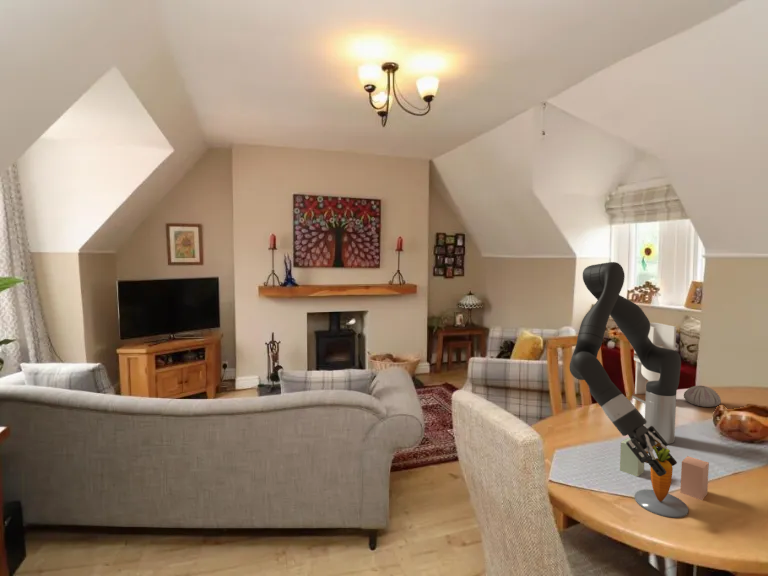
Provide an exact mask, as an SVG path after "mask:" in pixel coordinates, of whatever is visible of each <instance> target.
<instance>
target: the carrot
mask: <svg viewBox="0 0 768 576" xmlns="http://www.w3.org/2000/svg"><path fill="white" fill-rule="evenodd" d="M664 450H665V449H664V448H662V450H660V451H659V453H658V451H657V449H656V447H655V446H654V447H653V451H654V452H655V455H656V456H657V457H655V459H657V461H658V462H659V463H660V464H661V466H662V467H663V468H664V469H665V470H666V474H664V475H662V476H658V475H657V474H656V472H655V471H654V470H653V469H652V467H651V466H650V480H651V486H652V490H654V493H655V495H656V497H657V499H658V500H659V501H660V502H661V501H663V500H664V498H665V497H666V496H667V494H669V491H670V489H671V484H672V481H673V471H674V470H673V469H674V468H673V467H674V466H672V465H671V464H670V462H669V461H667V459H669V458H670V456H667V455H668V454H669V453H671V450H670V449H669V448H667V449H666V450H665V451H664ZM666 456H667V457H666Z"/></svg>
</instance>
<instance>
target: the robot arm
mask: <svg viewBox="0 0 768 576" xmlns="http://www.w3.org/2000/svg"><path fill="white" fill-rule="evenodd" d="M625 275H626V274H625V270H624V268H623V267H622V265H621V264H620V262H619V263H618V262H616V261H610V262H603V263H598V264H591V265H588V266H587V267H585V268H584V270H583V271H582V281H583V283H584V285H585V287H586V289H587V291H589V292H590V293H591V295H592V296H594V298H595V299H596V300H597V301H596V302H595V303H594V304H593V306H592V307H591V308H590V309H589V310H588V312H586V314H585V315H584V316H583V318H582V320H581V323H580V326H579V329H578V330H579V331H578V334H577V340H576V344H575V347H574V350H573V352H572V355H571V359H570V362H569V371H570V374H571V375H572V376H573V378H575V379H577V380H580V381H585V383H586V385H587V386H588V388H589V392H590V394H591V396H592V397H593V399H594V400H595V401H596V403H597V404H598V405H599V407H601V409H602V411H603V412H604V413H605V415H606V416H607V418H608V419H609V420H610V421H611V422H612V424H613V425H614V426H615V428H616V429H617V431H619V434H621V436H623V437H626V436H628V438H630V439H631V440H629V441H627V442H626V444H627V445H628V447H629V448H630V449H631V450H632V452H633V453H634V454H635V455H636V457H637V458H638V459H639V460H640V462H641V463H644V464H645V463H646V464H648V465H649V467H650V468H651V467H652V469H653V470H654V471H655V472H656V474H657V475H658V476H662V475H664V474H666V470H665V469H664V468H663V467H662V466H661V464H660V463H659V462H658V461H657V459H656V457H655V455H654V453H653V452H654V449H653V447H654V446H655V447H656V449H657V451H658V453H659V451H660V450H662V448H664V449H665V450H666V449H668V448H667V446H669V445H670V444H673V443H675V433H676V414H677V413H676V411H677V393H678V392H677V391H678V387H679V384H680V378H681V377H680V376H681V368H682V358H681V355H680V353H679V352H678V351H677V350H676V349H675V350H671V349H666V348H661V347H657V346H655V345H654V344H653V343H652V342H651V340H650V339H649V337H648V335H649V332H650V323H651V322H650V320H649V318H648V316H647V315H646V313H645V312H644V310H642V308H641V306H639V305H638V304H636V303H635V302H634V301H632V300H629V299H628V298H627V297H624V296H622V295H620V294H621V291H622V289H623V286H624V283H625V278H626V277H625ZM610 317H611V318H612V319H613V321H614V323H615V324H616V326H617V327H618V329H619V330H620V332H621V333H622V335H624V337H625V338H626V339H627V341H628V342H629V344H630V345H631V348H632V349H633V351H634V350H635V352H636V354H637V356H638V358H639V360H640V361H641V363H642V365H643V366H644V367H645V368H646V369H647V370H649V371H652V372H656V373H660V378H659V380H658V381H649V382H647V384H646V401H645V404H644V405H645V406H644V415H642V413H641V412H640V411H639V410H638V409H637V408H636V406H635V405H634V404H633V403H632V402H631V400H630V399H628V397H627V396H625V395H624V394H623V392H622V391H621V390H620V389H619V388H618V387H617V386H616V384H615V383H614V382H613V381H612V380H611V378H610V376H609V374H608V372H607V370H606V369H605V368H604V365H603V364H602V363H601V361H600V360H599V359H598V358H597V357H598V353H599V352H600V349H601V348H602V344H603V340H604V338H605V337H604V336H605V332H606V328H607V326H608V325H607V323H608V321H609V319H610ZM665 450H664V451H665ZM640 454H641V455H642V457H641V456H640ZM667 456H670V458H669V459H667V461H669V462H670V464H671V465H672V467H674V466H675V465H677V464H678V461H677V460H676V459H675V458H674V457H673V456H672V454H671V452H669V454H668V455H667ZM667 456H666V457H667Z"/></svg>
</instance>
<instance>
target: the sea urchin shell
mask: <svg viewBox="0 0 768 576" xmlns="http://www.w3.org/2000/svg"><path fill="white" fill-rule="evenodd" d="M683 398H684V400H685V401H686V402H688V403H689V404H691V405H695V406H698V407H702V408H703V407H704V408H706V407H707V408H711V407H713V408H714V407H717V406H719V405H720V404H721V402H722V399H721V397H720V395H719V394H718V393H717V391H715V390H714V389H713V388H711V387H708V386H706V385H694V386H691V387H689V388H688V389H686V390H685V391H684V393H683Z"/></svg>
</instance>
